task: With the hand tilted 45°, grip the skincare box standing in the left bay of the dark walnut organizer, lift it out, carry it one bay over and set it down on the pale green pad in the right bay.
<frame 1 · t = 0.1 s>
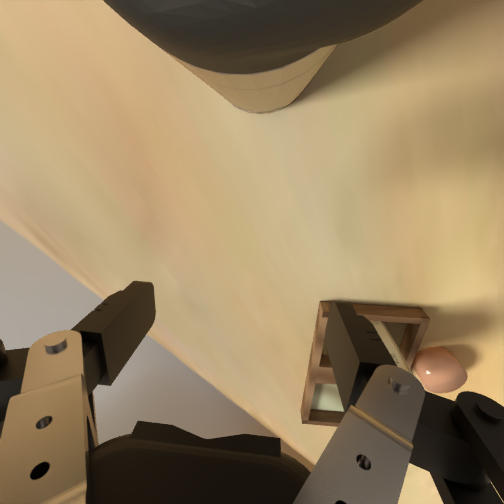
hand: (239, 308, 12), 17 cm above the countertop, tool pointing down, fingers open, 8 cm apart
walnut organizer: (353, 365, 36), on the countertop
skincare box: (360, 334, 34), resting in walnut organizer
pinkish brown rounded piece: (431, 360, 35), on the countertop
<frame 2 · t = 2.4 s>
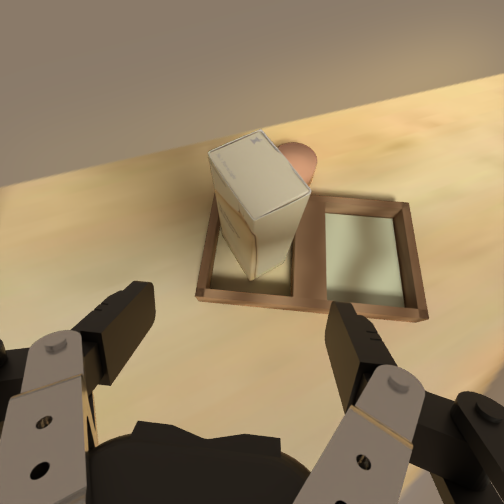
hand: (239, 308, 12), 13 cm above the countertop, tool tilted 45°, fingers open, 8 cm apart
walnut organizer: (306, 253, 27), on the countertop
skincare box: (254, 249, 27), resting in walnut organizer
pinkish brown rounded piece: (290, 177, 31), on the countertop
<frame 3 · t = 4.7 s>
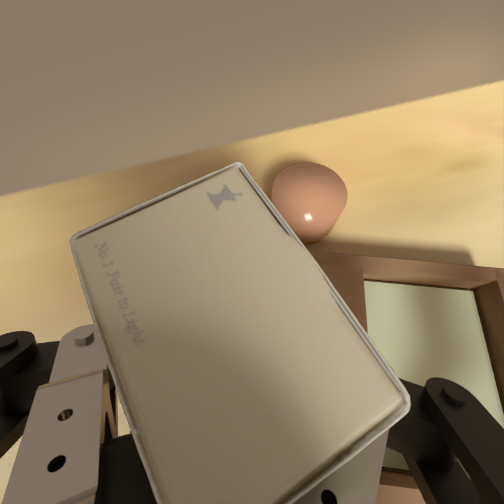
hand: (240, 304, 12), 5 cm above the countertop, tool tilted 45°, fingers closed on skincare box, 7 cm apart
walnut organizer: (331, 357, 16), on the countertop
skincare box: (241, 347, 16), resting in walnut organizer, touching gripper
pinkish brown rounded piece: (301, 215, 20), on the countertop
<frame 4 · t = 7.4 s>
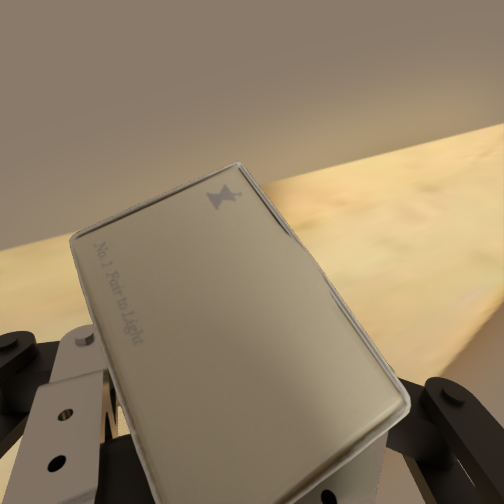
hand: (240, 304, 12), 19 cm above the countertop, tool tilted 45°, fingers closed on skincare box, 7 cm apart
skincare box: (241, 347, 16), point 13 cm above the countertop, touching gripper
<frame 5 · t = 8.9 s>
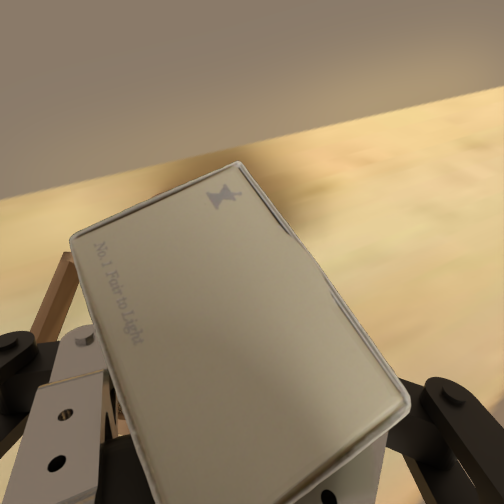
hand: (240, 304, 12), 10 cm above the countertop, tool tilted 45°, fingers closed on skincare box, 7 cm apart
walnut organizer: (174, 341, 21), on the countertop
skincare box: (241, 347, 16), point 5 cm above the countertop, touching gripper
when the fingers open (7 cm above the countertop, at t = 10.2 s): skincare box drops 1 cm, resting on walnut organizer.
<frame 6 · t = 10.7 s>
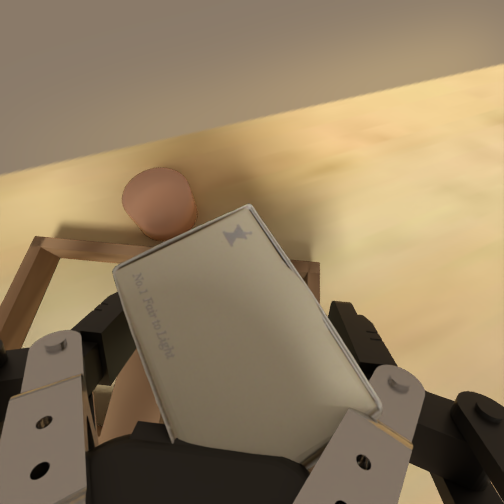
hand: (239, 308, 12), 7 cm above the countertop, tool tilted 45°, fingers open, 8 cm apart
walnut organizer: (162, 340, 18), on the countertop
skincare box: (244, 352, 17), resting on walnut organizer
pinkish brown rounded piece: (168, 215, 22), on the countertop
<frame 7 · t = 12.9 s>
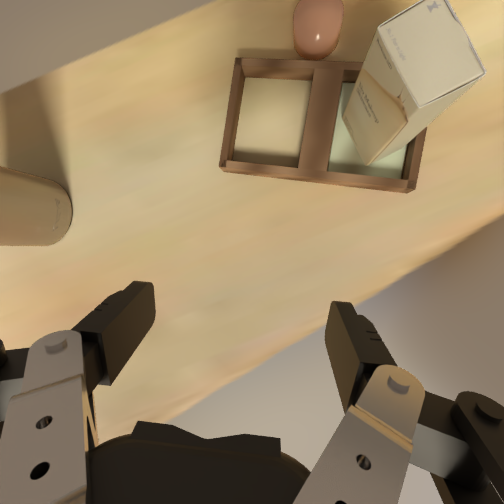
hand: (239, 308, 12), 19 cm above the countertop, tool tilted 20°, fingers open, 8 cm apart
walnut organizer: (319, 128, 29), on the countertop
skincare box: (372, 134, 28), resting on walnut organizer
pinkish brown rounded piece: (316, 38, 29), on the countertop
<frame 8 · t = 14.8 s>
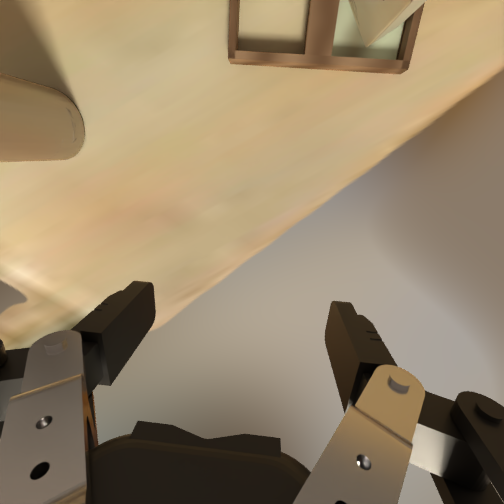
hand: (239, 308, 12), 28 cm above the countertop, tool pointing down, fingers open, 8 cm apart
walnut organizer: (322, 5, 29), on the countertop
skincare box: (373, 10, 29), resting on walnut organizer
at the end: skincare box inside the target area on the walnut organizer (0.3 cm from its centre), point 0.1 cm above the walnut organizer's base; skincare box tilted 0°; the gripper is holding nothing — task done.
